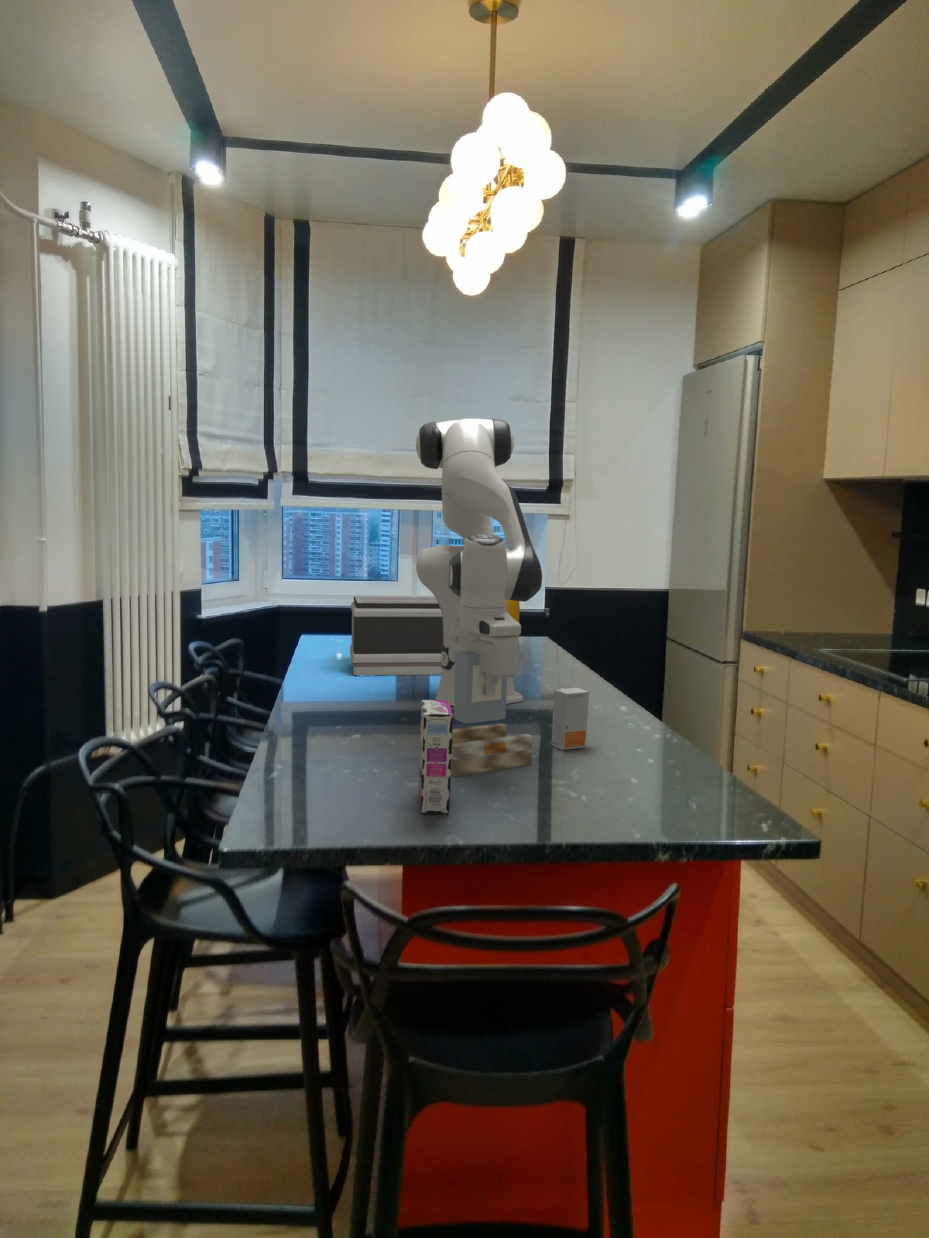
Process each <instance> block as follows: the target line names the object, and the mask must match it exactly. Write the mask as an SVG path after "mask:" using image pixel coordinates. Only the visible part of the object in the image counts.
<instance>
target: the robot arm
mask: <svg viewBox="0 0 929 1238" xmlns="http://www.w3.org/2000/svg"><path fill="white" fill-rule="evenodd" d="M514 439H515V438H514V434H513V431H512V429H511V427H510V424H509V423H508V422H507V421H506V420H503V419H501V418H499V419H498V418H492V419H487V418H462V419H453V420H445V421H440V422H437V421H430V422H427V423H424V424H423V425H422V426H421V427H420V428H419V432H418V434H417V435H416V439H415V450H416V454H417V456H418V458H419V461H420V463H421V464H422V465H423V466H424V467H425V468H426V469H427V468H428V469H432V470H433V469H434V470H438V469H442V470H441V471H442V472H441V505H442V510H441V511H442V520H443V523H444V525H445V526H446V527H447V529H448V530H450V532H453V533H454V534H457V535H458V536H459V537H461V538H462V540H463V541H464V543H463V545H446V544H445V545H444V544H443V545H437V546H429V547H425V548H424V549H423V550H422V551H421V552H420V553H419V555H418V557H417V559H416V564H415V569H416V574H417V575H416V576H417V578H418V580H419V582H420V583H421V584H422V585H423V586H425V587H426V589H427V590H429V591H430V592H431V593H432V594H433V597H435V598H436V599H437V601H438V603H439V606H440V608H441V612H442V618H443V644H442V646H441V667H442V670H441V675H440V677H439V678H440V679H439V684H438V689H437V692H436V695H435V699H434V700H446V701H449V704H450V706H452V707H454V685H455V652H457V651H470V652H473V653H477V654H480V657H479V665H480V667H479V668H480V671H482V672H485V673H486V678H487V679H488V680H487V683H486V686H483V694H484V695H485V696H488V697H490V696H494V695H495V687H496V685H497V683H498V681H499V677H500V678H507V692H506V705H507V704H512V703H513V704H514V703H519V702H523V701H524V697H523V695H522V694H521V693H520V692H517V691H515V684H514V677H516V675H517V674H518V672H519V670H520V669H519V668H520V657H521V655H520V653H521V649H520V648H521V647H520V640H519V638H517V637H516V635H519V636H520V635H521V633H522V625H521V624H520V622H519V623H518V622H517V621H516V620H515V619H513V618H512V617H511V616H510V614H509V613H507V612H506V609H507V604H506V599H510V600H513V601H519V602H525V603H526V602H528V601H529V600H530V599H532V598H533V597H534V596H536V594H538V592H539V591H540V590H541V588H542V585H543V583H542V582H543V570H542V566H541V563H540V559H539V558H538V555H537V554H536V551H535V548H534V546H533V544H532V541H531V537H530V535H529V530H528V528H527V524H526V522H525V519H524V518H525V517H524V515H523V511H522V508H521V505H520V502H519V500H518V498H517V497H518V496H517V494H516V492H515V490H514V488H513V487H511V486H510V485H509V484H507V483H506V482H505V481H504V480H503V479H502V477H500V475H499V473H498V471H497V470H496V468H497V467H500V466H502V465H505V464H506V463H508V461H509V460H510V459H511V457H512V454H513V450H514V446H515V440H514ZM490 518H492V519H493V520H495V521H497V522H498V523H499V524H500V526H501V527H502V529H503V533H504V537H505V539H504V538H503V537H501V536H499V535H496V534H495V532H494V529H493V527H492V523H491V520H490ZM505 541H506V542H507V546H508V548H507V546H506V542H505Z"/></svg>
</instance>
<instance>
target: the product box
mask: <svg viewBox="0 0 929 1238" xmlns="http://www.w3.org/2000/svg"><path fill="white" fill-rule="evenodd" d="M479 657H480V654H477V653H473V652H470V651H457V652H455V685H454V706H453V720H456V721H458V722H459V723H463V724H465V725H466V724H475V723H483V722H491V721H499V720H506V719H507V718H506V716H507V704H506V692H507V678H500V677H499V681H498V683H497V685H496V687H495V695H494V696H490V697H488V696H485V695H484V694H483V686H486V683H487V680H488V679H487V678H486V673H485V672H482V671H480V668H479V667H480V665H479Z"/></svg>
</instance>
